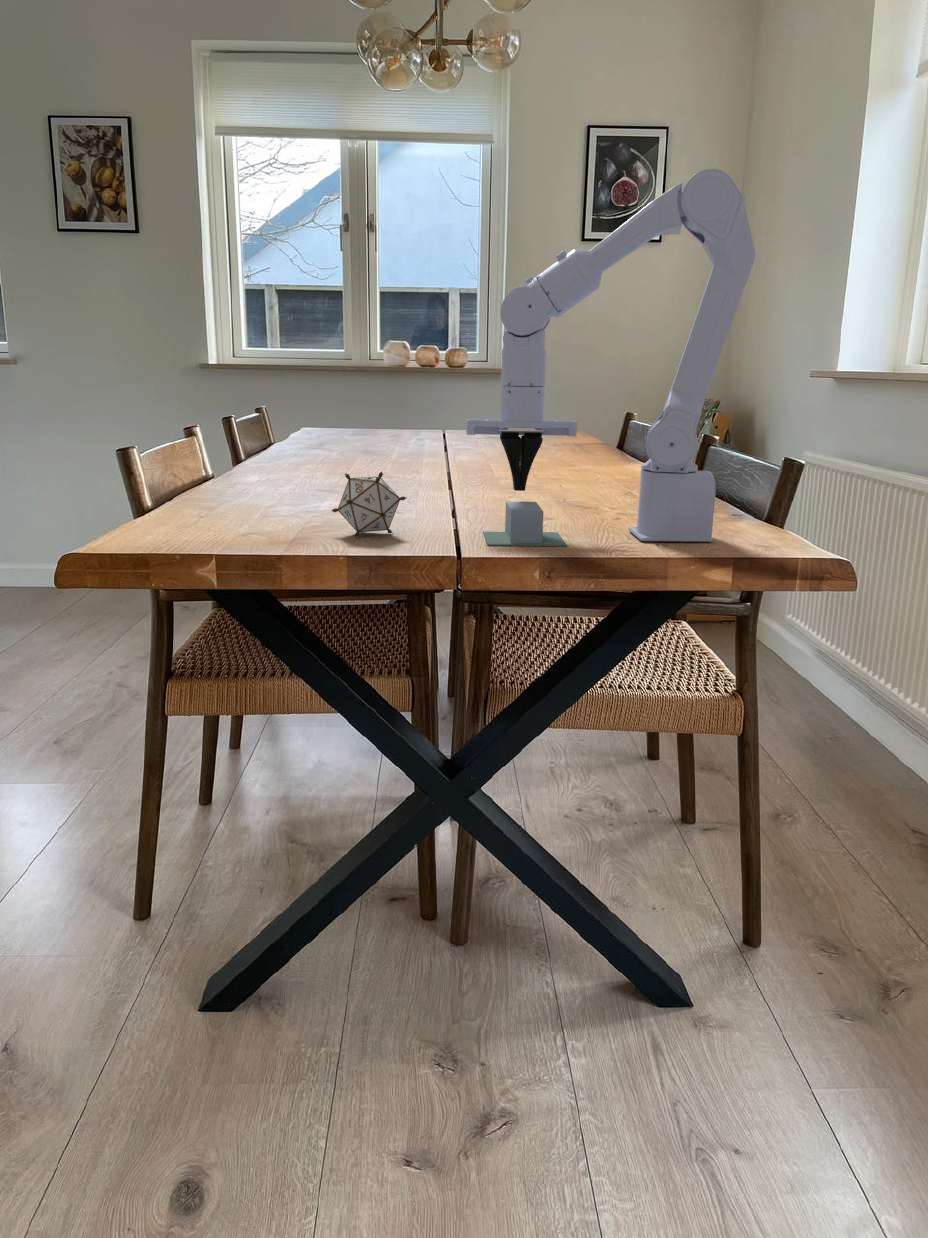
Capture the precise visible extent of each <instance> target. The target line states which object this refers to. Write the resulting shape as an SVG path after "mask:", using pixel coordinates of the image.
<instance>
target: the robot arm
mask: <svg viewBox="0 0 928 1238" xmlns="http://www.w3.org/2000/svg"><path fill="white" fill-rule="evenodd" d="M683 185H684V183H683V182H680V183H678V184H676V185H675V186H673V187H671V188H669V189H668V190H667V191H665V192H663V193H662V194H660V195H659V196H658V197H656V198H654V199H653V200H652V201H651V202H649V203H648V204H646V206H644V207H643V208H641V209H640V210H639V211H638V212H637V213H635V214H634V215H632V216H631V217H629V219H627V221H625V222H623V223H622V224H621V225H620V226H619V227H618V228H616V229H615V230H614V231H612V232H611V233H610V234H609V235H607V236H606V237H605V238H603V239H602V240H601V241H599V242H598V243H597V244H595V246H593V247H592V248H591V249H589V250H586V249H585V250H584V249H580V248H574V249H571V250H570V251H569V252H566V251H565V250H562V251H561V252H559V253H557V254H556V255H555V259H556V260H557V261H555V262H554V263H553V264H552V265H550V266H548V267H546V269H545V270H543V271H542V272H540V273H538V275H537V276H535V277H533V276H531V275H530V276H529V277H528V278H526V279H525V280H524V283H525V285H526V286H517V287H514V288H512V289H510V292H509V293H508V294H507V295H506V296H505V297H504V299H502V300H503V301H502V303H501V306H500V311H499V313H500V314H499V315H500V320H501V323H502V325H503V326H504V328H505V329H504V330H503V336H502V343H503V344H502V345H503V346H502V347H503V348H502V349H501V364H500V365H501V366H500V367H501V369H500V371H501V373H500V402H499V403H500V404H499V406H500V407H499V408H500V410H499V411H500V412H499V418H467V419H466V420H465V421H466V422H465V424H466V427H465V433H466V435H467V436H468V435H469V436H475V435H496V436H498V435H499V440H500V442H501V444H502V447H503V449H504V452H505V455H506V458H507V460H508V464H509V467H510V472H511V478H512V485H513V486H512V487H513V490H514V492H516V491H517V492H519V491H520V492H521V491H522V492H524V491H526V486H527V481H528V478H529V474H530V471H531V469H532V465H533V462H534V460H535V458H536V456H537V453H538V452H539V449H540V448H541V446H542V443H543V440H544V439H543V437H542V436H561V437H563V436H566V437H567V436H568V437H577V432H578V431H577V430H578V429H577V428H578V421H576V420H566V419H565V420H564V419H563V420H562V419H561V420H558V419H544V410H545V408H544V407H545V405H544V404H545V382H546V380H545V379H546V378H545V377H546V359H547V357H546V356H547V355H546V353H547V351H546V349H545V344H546V343H545V342H546V329H547V328H548V326H549V324H550V321H551V318H552V317H553V318H559V317H561V316H562V315H564V314H565V313H566V312H568V311H570V309H572V308H573V307H575V306H576V305H578V304H579V303H580V302H582V301H583V300H584V299H586V298H587V297H589V296H591V294H593V293H594V292H595V291H597V290H598V289H600V286H601V285H600V284H601V280H602V275H603V273H604V272H605V271H607V270H609V269H610V268H612V267H613V266H614V265H615V264H617V263H619V262H620V261H621V260H623V259H625V258H626V257H628V256H629V255H631V254H632V253H633V252H635V251H637V250H638V249H640V248H641V247H643V246H644V245H645V244H647V243H648V242H650V241H652V240H653V239H654V238H656V237H659V236H672V235H673V236H674V235H675V236H676V235H681V232H682V227H683V226H684V228H685V229H686V231H687V232H689V233H690V234H691V235H692V236H693V237H694V238H695V239H697V240H698V241H699V242H700V243H701V245H702V247H703V248H704V249H703V250H704V251H705V253H706V255H707V256H708V258H709V261H710V262H711V264H712V268H711V271H710V274H709V276H708V280H707V283H706V284H705V285H706V286H705V288H704V291H703V294H702V296H701V300H700V303H699V306H698V309H697V312H696V315H695V317H694V321H693V323H692V327H691V329H690V332H689V334H688V335H689V336H688V339H687V341H686V344H685V347H684V350H683V352H682V356H681V358H680V361H679V364H678V367H677V369H676V374H675V375H674V378H673V382H672V383H671V388H670V390H669V392H668V395H667V398H666V400H665V403H664V406H663V409H662V411H661V414H660V415H659V417H658V418H657V419H656V420H655V421H654V422H653V423H652V424H651V425H650V426H649V428H648V431H647V433H646V442H645V447H646V448H645V450H646V453H647V456H648V458H649V459H648V460H647V461H646V462H644V463H642V464H641V465H640V466H641V469H640V477H639V480H640V481H639V490H638V491H639V492H638V493H639V494H638V508H637V509H638V510H637V524H636V526H630V527H628V531H629V532H630V533H631V534H633V536H635V537H636V538H637V539H638V540H640V541H641V542H702V543H703V542H704V543H705V542H707V543H708V542H709V543H711V542H713V541H714V538H713V526H714V525H713V524H714V516H715V515H714V513H715V505H716V504H715V503H716V479H715V477H714V474H713V472H711V471H709V470H698V469H699V468H698V467H699V465H698V464H696V463H694V462H693V461H692V460H693V459H694V458H695V455H696V454H697V451H698V450H697V449H698V446H699V445H698V435H697V430H698V424H699V421H700V419H701V415H702V412H703V407H704V404H705V401H706V397H707V396H708V391H709V388H710V387H711V384H712V381H713V378H714V375H715V372H716V370H717V368H718V367H717V366H718V363H719V362H720V358H721V356H722V352H723V351H724V350H723V349H724V348H725V344H726V341H727V339H728V336H729V333H730V330H731V327H732V324H733V322H734V318H735V316H736V314H737V311H738V308H739V305H740V302H741V299H742V296H743V294H744V290H745V287H746V285H747V283H748V279H749V276H750V274H751V271H752V268H753V266H754V263H755V258H756V249H755V244H754V239H753V235H752V232H751V227H750V226H751V225H750V224H749V223H750V222H749V219H748V214H747V208H746V201H745V196H744V195H743V193H742V191H741V190H740V188H739V187H738V186H737V184H736V183H735V181H734V180H733V178H732V176H730V174H728V173H727V172H726V171H724V170H721V169H719V168H706V169H702V170H700V171H697V172H696V173H694V174H693V175H692V176H691V177H690V178H689V179H688V180H687V182H686V183H685V185H684V187H683ZM511 428H512V429H534V430H509V429H511Z"/></svg>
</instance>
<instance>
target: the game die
mask: <svg viewBox="0 0 928 1238" xmlns="http://www.w3.org/2000/svg"><path fill="white" fill-rule="evenodd" d="M344 476H345V478H346V479H347V480H348V481H347V483H346V485H345V488H344V491H343V495H342V496H341V499H340V501H339V502H340V503H339V505H338V507H335V508H333V509H332V510H331V513H332V512H333V513H337V512H339V514H340V515H341V516H342V517H343V519H345V520H346V521H347V523H349V525H350V526H351V527H352V528H353V529H354V530H355V531H356V532H355V534H354V538H355V537H357V536H358V537H359V535H360V533H368V532H369V533H370V532H372V533H373V532H382V531H387V533H388V534H389V533H392V534H393V531H392V529H390V527H391V524H392V522H393V519H394V517H395V514H396V511H397V509H398V507H399V505H400V502H401V501H405V500H406V499H407V497H406V496H404V495H403V496H401V497H400V496H399V495H398V494H397V492H395V491H394V490H393V489H392V488H391V487H390V485H388V483H387V482H386V481H385V480H384V479H383V478H382V477H383V476H384V474H383V471H381V472H379V473H378V476H366V477H365V476H364V477H351V476H350V474H348V473H344ZM358 537H357V538H358Z"/></svg>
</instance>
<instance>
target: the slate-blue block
mask: <svg viewBox="0 0 928 1238" xmlns="http://www.w3.org/2000/svg"><path fill="white" fill-rule="evenodd" d="M504 518H505V522H504V523H505V524H504V532H506V534H507V536H508V538H509V540H510V543H542V537H543V532H544V531H543V530H544V510H543V509H542V508H541V506H540V505H539V504H538V502H537V501H510V500H509V501H507V500H506V501H505V517H504Z"/></svg>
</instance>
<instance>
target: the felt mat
mask: <svg viewBox="0 0 928 1238" xmlns="http://www.w3.org/2000/svg"><path fill="white" fill-rule="evenodd" d="M483 534H484V535H483ZM482 535H483V538H484V537H485V538H484V539H485V540H486V541H485V540H484V541H485V543H486V546H487V547H561V548H562V547H568V544H567V542H565V540H564V539H563V537H562V536H561V535H560V534H559V532H557V531H555V532H554V531H553V532H552V531H549V532H548V531H543V537H542V543H510V540H509V538H508V536H507V534H506V532H505V531H482Z"/></svg>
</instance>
